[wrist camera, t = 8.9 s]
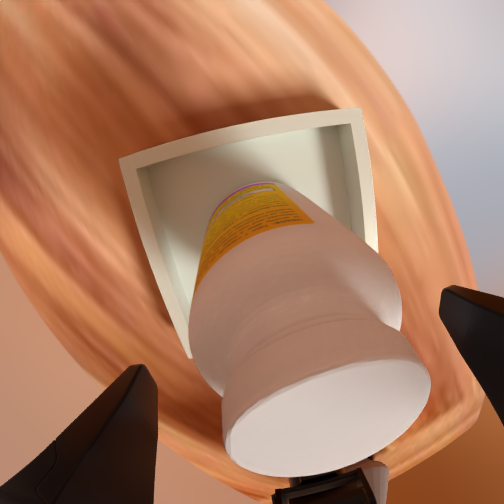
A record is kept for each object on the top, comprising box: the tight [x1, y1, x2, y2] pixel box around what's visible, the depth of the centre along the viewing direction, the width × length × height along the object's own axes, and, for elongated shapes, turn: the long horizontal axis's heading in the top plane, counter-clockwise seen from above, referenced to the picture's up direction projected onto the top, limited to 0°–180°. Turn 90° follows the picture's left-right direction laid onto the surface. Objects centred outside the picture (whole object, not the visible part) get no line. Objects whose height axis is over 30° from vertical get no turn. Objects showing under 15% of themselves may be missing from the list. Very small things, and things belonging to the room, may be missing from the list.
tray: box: [118, 108, 378, 359], centre depth 16 cm, size 13×13×2 cm
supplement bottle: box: [188, 182, 431, 477], centre depth 11 cm, size 7×7×13 cm
